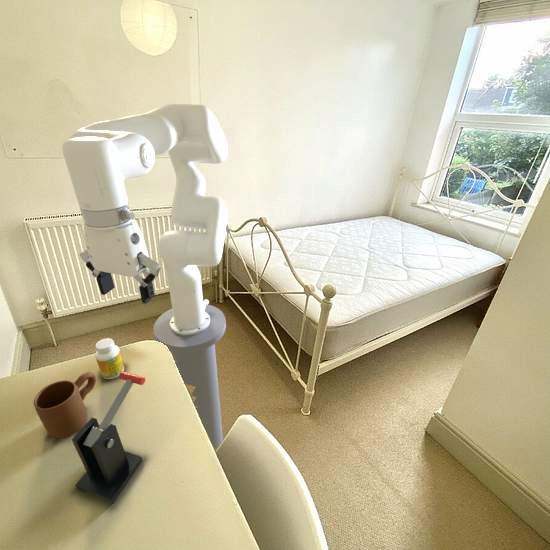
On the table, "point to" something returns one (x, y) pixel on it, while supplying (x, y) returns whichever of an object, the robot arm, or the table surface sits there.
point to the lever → (114, 406)
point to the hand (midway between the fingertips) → (128, 295)
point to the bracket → (104, 463)
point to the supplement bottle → (108, 358)
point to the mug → (64, 405)
